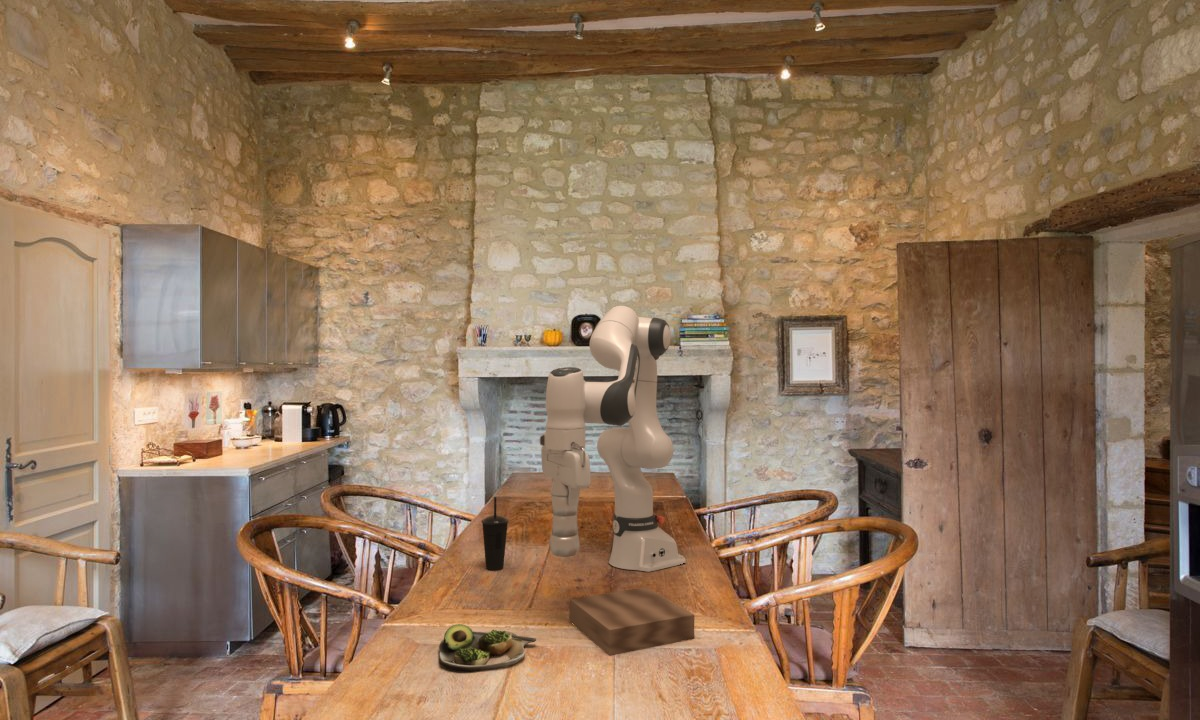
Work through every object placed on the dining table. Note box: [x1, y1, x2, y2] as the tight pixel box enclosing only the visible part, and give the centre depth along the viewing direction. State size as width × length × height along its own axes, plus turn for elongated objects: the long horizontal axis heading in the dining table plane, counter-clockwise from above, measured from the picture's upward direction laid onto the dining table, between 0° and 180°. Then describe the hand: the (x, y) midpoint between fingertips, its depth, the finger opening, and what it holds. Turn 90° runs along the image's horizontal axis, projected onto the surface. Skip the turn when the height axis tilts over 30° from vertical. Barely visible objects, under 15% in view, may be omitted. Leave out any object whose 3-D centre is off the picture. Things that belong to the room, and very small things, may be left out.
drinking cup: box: [481, 496, 510, 572], centre depth 195 cm, size 8×8×20 cm
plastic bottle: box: [549, 466, 581, 558], centre depth 154 cm, size 6×7×20 cm
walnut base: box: [568, 586, 695, 656], centre depth 150 cm, size 20×20×5 cm
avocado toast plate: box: [438, 623, 537, 673], centre depth 138 cm, size 19×18×5 cm
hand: (565, 502), depth 154 cm, fingers closed on plastic bottle, 6 cm apart
